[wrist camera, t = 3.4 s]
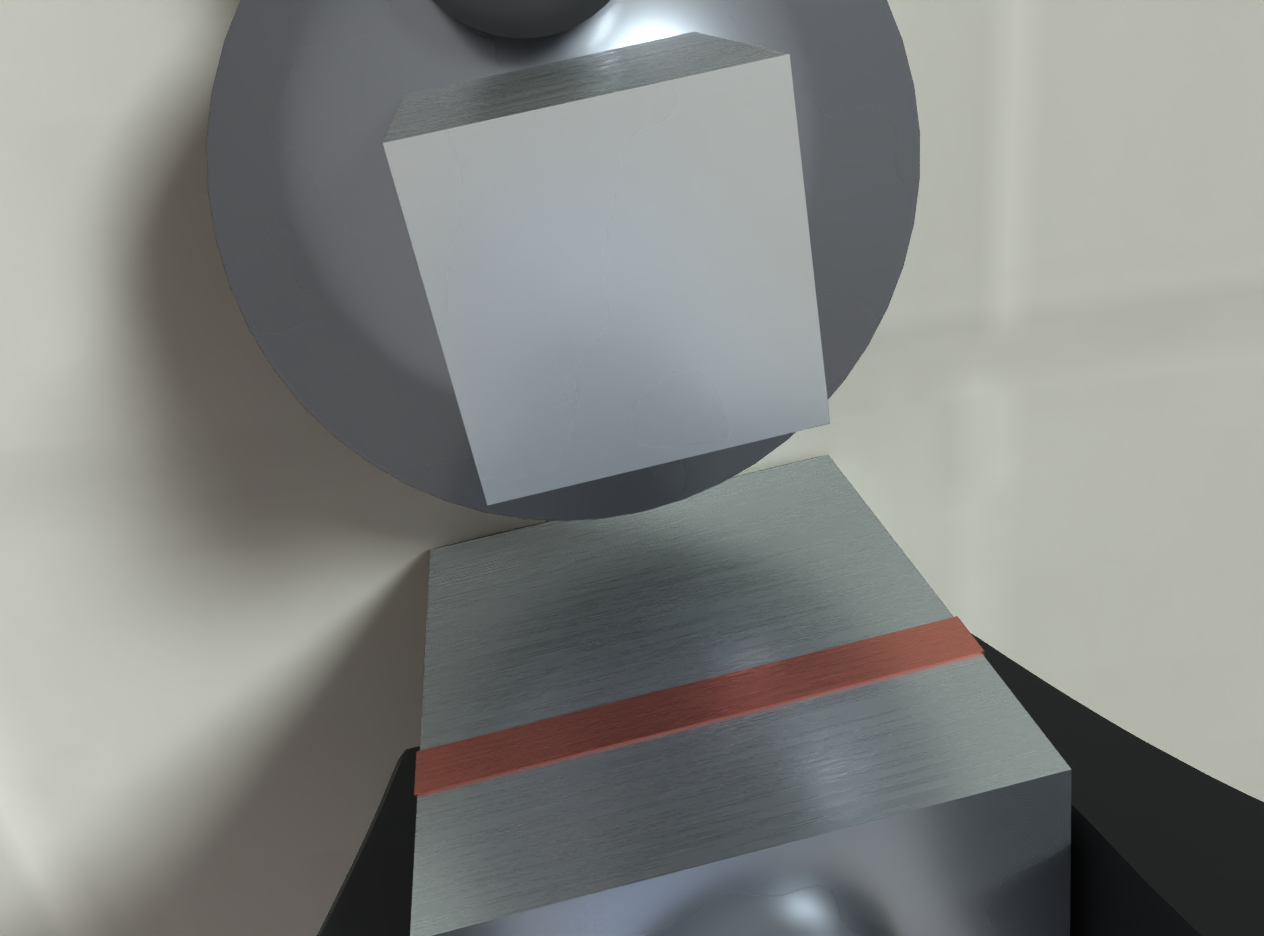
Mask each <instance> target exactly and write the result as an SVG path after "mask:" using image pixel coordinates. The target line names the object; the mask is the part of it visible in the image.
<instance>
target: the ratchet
mask: <svg viewBox="0 0 1264 936" xmlns="http://www.w3.org/2000/svg"><path fill="white" fill-rule="evenodd" d="M207 169H208V194H209V200H210V206H211V212H212V218H213V224H214V230H215V236H216V242H217V245H218V248H219V252H220V255H221V258H222V261H223V265H224V268H225V271H226V274H227V278H228V281H229V284H230V288H231V290H232V292H233V294H234V296H235V299H236V301H237V303H238V305H239V307H240V310H241V312H242V314H243V316H244V319H245V321H246V323H247V325H248V327H249V330H250V332H251V333H252V335H253V336H254V338H255V340H256V341H257V343H258V345H259V346H260V348H261V349H262V351H263V353H264V354H265V356H266V357H267V359H268V361H269V362H270V364H271V366H272V367H273V369H274V370H275V372H276V373H277V374H278V375H279V377H280V378H281V379H282V380H283V382H284V383H285V384H286V385H287V387H288V388H289V389H290V390H291V392H292V393H293V394H294V395H295V396H296V398H297V399H298V400H299V401H300V403H301V404H302V405H303V406H304V407H305V408H306V409H307V410H308V411H309V412H310V413H311V414H312V415H313V416H314V417H315V418H316V419H317V420H318V421H319V422H320V423H321V424H322V425H323V426H324V427H325V428H327V429H328V430H329V431H330V432H331V433H332V434H333V435H334V436H335V437H336V438H337V439H339V440H340V441H341V442H343V443H344V444H345V445H347V446H348V447H349V448H351V449H352V450H353V451H355V452H356V453H357V454H359V455H360V456H361V457H363V458H364V459H365V460H367V461H368V462H369V463H371V464H373V465H374V466H376V467H378V468H380V469H381V470H383V471H385V472H386V473H388V474H390V475H392V476H393V477H395V478H397V479H399V480H400V481H402V482H404V483H406V484H408V485H410V486H412V487H415V488H417V489H419V490H422V491H424V492H426V493H429V494H431V495H433V496H436V497H438V498H440V499H443V500H445V501H448V502H452V503H455V504H458V505H462V506H465V507H469V508H472V509H475V510H479V511H482V512H486V513H492V514H498V515H504V516H510V517H516V518H522V519H534V520H553V521H575V520H590V519H605V518H611V517H617V516H622V515H628V514H633V513H639V512H644V511H648V510H651V509H654V508H658V507H661V506H664V505H667V504H671V503H674V502H677V501H681V500H684V499H686V498H688V497H691V496H693V495H695V494H698V493H700V492H702V491H704V490H707V489H709V488H711V487H714V486H716V485H718V484H720V483H722V482H724V481H726V480H727V479H729V478H731V477H733V476H734V475H736V474H738V473H740V472H741V471H743V470H745V469H747V468H748V467H750V466H752V465H754V464H755V463H757V462H758V461H759V460H761V459H762V458H763V457H765V456H766V455H767V454H769V453H770V452H771V451H773V450H774V449H776V448H777V447H778V446H780V445H781V444H782V443H784V442H785V441H786V440H788V439H789V438H790V437H791V436H792V435H793V434H794V433H795V432H797V431H801V430H805V429H809V428H814V427H818V426H822V425H826V424H830V417H829V408H828V399H829V398H830V397H831V395H832V394H833V393H834V392H835V391H836V390H837V388H838V387H839V386H840V385H841V384H842V383H843V381H844V380H845V379H846V377H847V376H848V374H849V373H850V371H851V370H852V368H853V367H854V365H855V364H856V362H857V361H858V360H859V358H860V357H861V355H862V354H863V352H864V351H865V349H866V348H867V346H868V345H869V343H870V341H871V339H872V337H873V335H874V333H875V331H876V329H877V327H878V325H879V323H880V321H881V319H882V318H883V316H884V314H885V312H886V310H887V308H888V305H889V303H890V300H891V298H892V295H893V292H894V290H895V287H896V284H897V282H898V279H899V276H900V274H901V271H902V269H903V266H904V262H905V258H906V253H907V249H908V245H909V241H910V237H911V233H912V229H913V225H914V219H915V211H916V203H917V195H918V187H919V179H920V131H919V122H918V114H917V106H916V98H915V89H914V84H913V80H912V76H911V72H910V68H909V64H908V60H907V56H906V52H905V48H904V44H903V40H902V37H901V35H900V32H899V30H898V27H897V25H896V22H895V20H894V17H893V15H892V12H891V10H890V7H889V5H888V2H887V0H241V1H240V3H239V6H238V8H237V11H236V13H235V16H234V18H233V20H232V23H231V25H230V28H229V30H228V33H227V35H226V38H225V41H224V45H223V49H222V53H221V57H220V61H219V65H218V69H217V73H216V77H215V81H214V85H213V89H212V96H211V105H210V115H209V124H208V134H207Z"/></svg>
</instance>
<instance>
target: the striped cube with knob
mask: <svg viewBox="0 0 1264 936" xmlns="http://www.w3.org/2000/svg"><path fill="white" fill-rule="evenodd" d="M414 796H415V798H416V801H417V813H416V832H415V851H414V870H413V889H412V908H411V927H410V936H1070V879H1071V768H1070V767H1069V766H1068V764H1067V763H1066V762H1065V760H1064V759H1063V758H1062V756H1061V755H1060V754H1059V753H1058V751H1057V750H1056V749H1055V747H1054V746H1053V745H1052V744H1051V742H1050V741H1049V740H1048V738H1047V737H1046V736H1045V734H1044V733H1043V732H1042V731H1041V729H1040V728H1039V727H1038V725H1037V724H1036V723H1035V722H1034V720H1033V719H1032V718H1031V716H1030V715H1029V714H1028V712H1027V711H1026V710H1025V709H1024V707H1023V706H1022V705H1021V703H1020V702H1019V701H1018V700H1017V698H1016V697H1015V696H1014V694H1013V693H1012V692H1011V690H1010V689H1009V688H1008V687H1007V685H1006V684H1005V683H1004V681H1003V680H1002V679H1001V678H1000V676H999V675H998V674H997V672H996V671H995V670H994V668H993V667H992V666H991V665H990V663H989V662H988V661H987V659H986V658H985V657H984V650H983V649H982V647H981V646H980V645H979V644H978V642H977V641H976V640H975V638H974V637H973V636H972V635H971V633H970V632H969V631H968V629H967V628H966V627H965V626H964V624H963V623H962V622H961V620H960V619H959V618H958V617H957V616H956V617H953V615H952V614H951V613H950V612H949V610H948V609H947V608H946V606H945V605H944V604H943V602H942V601H941V600H940V599H939V597H938V596H937V595H936V593H935V592H934V591H933V590H932V588H931V587H930V586H929V584H928V583H927V582H926V580H925V579H924V578H923V577H922V575H921V574H920V573H919V571H918V570H917V569H916V568H915V566H914V565H913V564H912V562H911V561H910V560H909V558H908V557H907V556H906V555H905V553H904V552H903V551H902V549H901V548H900V547H899V546H898V544H897V543H896V542H895V540H894V539H893V538H892V536H891V535H890V534H889V533H888V531H887V530H886V529H885V527H884V526H883V525H882V524H881V522H880V521H879V520H878V518H877V517H876V516H875V514H874V513H873V512H872V511H871V509H870V508H869V507H868V505H867V504H866V503H865V502H864V500H863V499H862V498H861V496H860V495H859V494H858V492H857V491H856V490H855V489H854V487H853V486H852V485H851V483H850V482H849V481H848V480H847V478H846V477H845V476H844V474H843V473H842V472H841V470H840V469H839V468H838V467H837V465H836V464H835V463H834V461H833V460H832V459H831V458H830V456H829V455H825V456H821V457H816V458H812V459H808V460H804V461H800V462H796V463H791V464H787V465H783V466H779V467H775V468H771V469H766V470H762V471H758V472H754V473H750V474H746V475H741V476H737V477H733V478H729V479H727V480H726V481H724V482H722V483H720V484H718V485H716V486H714V487H711V488H709V489H707V490H704V491H702V492H700V493H698V494H695V495H693V496H691V497H688V498H686V499H684V500H681V501H677V502H674V503H671V504H667V505H664V506H661V507H658V508H654V509H651V510H648V511H644V512H639V513H633V514H628V515H622V516H617V517H611V518H605V519H590V520H575V521H550V522H546V523H541V524H537V525H533V526H529V527H525V528H521V529H516V530H512V531H508V532H504V533H500V534H496V535H491V536H487V537H483V538H479V539H475V540H471V541H466V542H462V543H458V544H454V545H450V546H446V547H441V548H437V549H433V550H430V566H429V585H428V604H427V623H426V642H425V661H424V680H423V699H422V718H421V737H420V751H417V753H416V771H415V788H414Z"/></svg>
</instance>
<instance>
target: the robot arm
mask: <svg viewBox="0 0 1264 936" xmlns="http://www.w3.org/2000/svg"><path fill="white" fill-rule="evenodd" d="M971 635H972V636H973V637H974V638H975V640H976V641H977V642H978V644H979V645H980V646H981V647H982V649H983V650H984V657H985V658H986V659H987V661H988V662H989V663H990V665H991V666H992V667H993V668H994V670H995V671H996V672H997V674H998V675H999V676H1000V678H1001V679H1002V680H1003V681H1004V683H1005V684H1006V685H1007V687H1008V688H1009V689H1010V690H1011V692H1012V693H1013V694H1014V696H1015V697H1016V698H1017V700H1018V701H1019V702H1020V703H1021V705H1022V706H1023V707H1024V709H1025V710H1026V711H1027V712H1028V714H1029V715H1030V716H1031V718H1032V719H1033V720H1034V722H1035V723H1036V724H1037V725H1038V727H1039V728H1040V729H1041V731H1042V732H1043V733H1044V734H1045V736H1046V737H1047V738H1048V740H1049V741H1050V742H1051V744H1052V745H1053V746H1054V747H1055V749H1056V750H1057V751H1058V753H1059V754H1060V755H1061V756H1062V758H1063V759H1064V760H1065V762H1066V763H1067V764H1068V766H1069V767H1070V768H1071V879H1070V936H1264V802H1262V801H1260V800H1258V799H1256V798H1253V797H1251V796H1249V795H1247V794H1245V793H1243V792H1241V791H1239V790H1237V789H1235V788H1233V787H1231V786H1229V785H1226V784H1224V783H1222V782H1220V781H1218V780H1216V779H1214V778H1212V777H1210V776H1208V775H1206V774H1205V773H1203V772H1201V771H1199V770H1197V769H1195V768H1193V767H1192V766H1190V765H1188V764H1186V763H1184V762H1182V761H1180V760H1178V759H1177V758H1175V757H1173V756H1171V755H1169V754H1167V753H1165V752H1163V751H1162V750H1160V749H1158V748H1156V747H1154V746H1152V745H1150V744H1149V743H1147V742H1145V741H1143V740H1141V739H1140V738H1138V737H1136V736H1134V735H1133V734H1131V733H1129V732H1127V731H1126V730H1124V729H1122V728H1120V727H1119V726H1117V725H1115V724H1114V723H1112V722H1110V721H1109V720H1107V719H1105V718H1104V717H1102V716H1100V715H1099V714H1097V713H1095V712H1094V711H1092V710H1090V709H1089V708H1087V707H1085V706H1084V705H1082V704H1080V703H1079V702H1077V701H1075V700H1074V699H1072V698H1070V697H1069V696H1067V695H1066V694H1064V693H1062V692H1061V691H1059V690H1058V689H1056V688H1055V687H1053V686H1051V685H1050V684H1048V683H1047V682H1045V681H1043V680H1042V679H1040V678H1039V677H1037V676H1036V675H1034V674H1033V673H1031V672H1030V671H1028V670H1026V669H1025V668H1023V667H1022V666H1020V665H1019V664H1017V663H1016V662H1014V661H1013V660H1011V659H1009V658H1008V657H1006V656H1005V655H1003V654H1002V653H1000V652H999V651H997V650H996V649H994V648H993V647H991V646H990V645H988V644H987V643H985V642H984V641H982V640H981V639H979V638H978V637H976V636H974V635H973V634H971ZM417 751H420V746H419V747H415V748H411V749H407V750H405V751H404V753H403V754H402V756H401V757H400V759H399V760H398V762H397V764H396V767H395V769H394V772H393V774H392V776H391V779H390V781H389V784H388V786H387V788H386V791H385V793H384V795H383V798H382V800H381V803H380V805H379V807H378V809H377V812H376V814H375V816H374V819H373V821H372V823H371V825H370V828H369V830H368V832H367V834H366V836H365V839H364V841H363V843H362V845H361V847H360V849H359V852H358V854H357V856H356V858H355V860H354V862H353V864H352V866H351V868H350V871H349V873H348V875H347V877H346V879H345V881H344V883H343V885H342V887H341V889H340V891H339V893H338V895H337V897H336V899H335V901H334V903H333V905H332V907H331V909H330V911H329V913H328V915H327V917H326V919H325V921H324V923H323V925H322V927H321V929H320V931H319V933H318V935H317V936H410V927H411V908H412V889H413V870H414V851H415V832H416V813H417V801H416V798H415V796H414V788H415V771H416V753H417Z"/></svg>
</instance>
